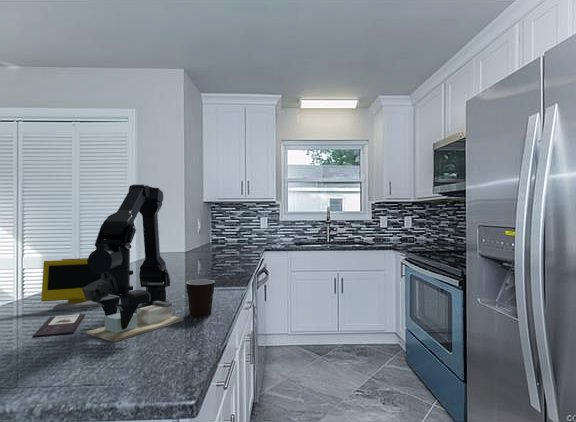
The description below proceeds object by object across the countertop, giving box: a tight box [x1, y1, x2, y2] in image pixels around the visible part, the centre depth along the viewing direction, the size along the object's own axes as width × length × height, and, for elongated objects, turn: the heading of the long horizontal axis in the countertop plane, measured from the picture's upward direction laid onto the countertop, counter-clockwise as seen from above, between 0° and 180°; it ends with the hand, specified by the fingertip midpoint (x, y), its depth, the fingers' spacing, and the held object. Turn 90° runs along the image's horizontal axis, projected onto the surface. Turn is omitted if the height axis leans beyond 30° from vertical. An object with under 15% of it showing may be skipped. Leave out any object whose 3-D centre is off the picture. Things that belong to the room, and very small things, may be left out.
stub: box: [104, 312, 137, 333], centre depth 99 cm, size 5×6×4 cm
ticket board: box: [85, 301, 185, 343], centre depth 104 cm, size 12×22×5 cm, turn 149°
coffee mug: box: [185, 279, 216, 318], centre depth 118 cm, size 12×9×10 cm
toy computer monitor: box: [40, 257, 102, 311], centre depth 127 cm, size 20×8×16 cm, turn 114°
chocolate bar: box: [32, 313, 86, 339], centre depth 104 cm, size 9×1×18 cm
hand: (117, 327), depth 99 cm, fingers closed on stub, 5 cm apart
